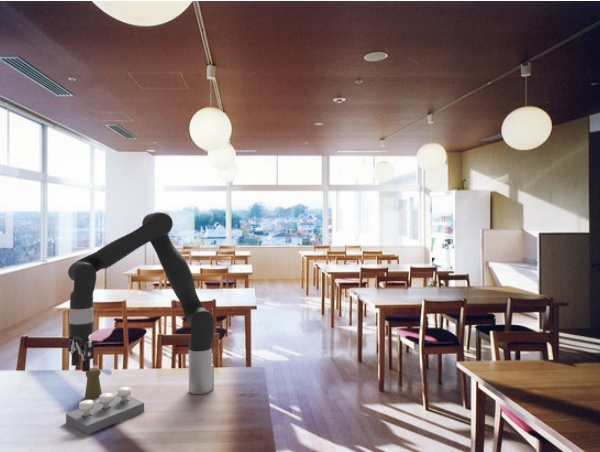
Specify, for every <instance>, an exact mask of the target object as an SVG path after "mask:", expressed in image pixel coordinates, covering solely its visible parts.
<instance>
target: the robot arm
mask: <svg viewBox="0 0 600 452" xmlns="http://www.w3.org/2000/svg"><path fill="white" fill-rule="evenodd" d="M141 224H142V225H141V226H139V227H138V228H137V229H135V230H133V231H131V232H128V233H127V234H125V235H123V236H121V237H119V238H117V239H115V240H113V241H111V242H110V243H108V244H106V245H104V246H103V247H101V248H99V249H98V250H97V251H95V252H93V253H91V254H89V255H87V256H84V257H82V258H80V259H78V260H76V261H75V262H73V263H72V264H71V265H70V266H69V268H68V271H67V275H68V277H69V278H70V280H72V281H73V290H72V291H71V292H70V297H69V313H68V345H67V346H68V350H67V351H68V352H69V353H70V355H71V366H73V367H75V366H79V364H80V356H81V359H82V361H81V362H82V364H81V365H82V366H81V367H82V368H81V369H82V372H84V373H86V371H89V370H90V368H91V360H92V359H94V357H95V354H94V353H95V349H94V348H95V345H94V342H95V341H94V340H90V338H89V337H90V336H91V335H92V334H94V323H95V322H94V319H95V317H94V315H95V314H94V313H95V312H94V291H95V287H96V282H97V272H99V271H101V270H105V269H108V268H111V267H113V265H115V264H117V263H118V262H120V261H121V260H123V259H124V258H125V257H127V256H129V255H130V254H131V253H133V252H134V251H136V250H137V249H139V248H141V247H143V246H145V245H146V244H147V243H150V244H151V246H152V247H153V249H154V252H155V253H156V256H157V258H158V261H159V263H160V265H161V267H162V269H163V271H164V274H165V277H166V278H167V281H168V283H169V285H170V286H171V288H172V291H173V292H174V295H175V296H176V298H177V299H178V301H179V303H180V306H181V308H182V311H183V315H184V317H185V320H186V323H187V325H188V327H189V328H190V340H189V341H188V392H189V394H193V395H204V394H208V393H210V392H211V391H212V390H213V389H214V388H215V365H214V364H213V342H214V335H215V334H214V333H215V332H214V331H215V322H214V317H213V314H212V313H211V312H210V311H209V310H207V309H206V308H205V306H204V305H203V303H202V302H201V300H200V299H199V296H198V294H197V290H196V286H195V280H194V275H193V273H192V271H191V269H190V266H189V265H188V262H187V261H186V259H185V258H184V256H183V255H182V254H181V253H180V251H179V250H178V249H177V248H176V246H175V245H174V244H173V241H172V240H171V239H170V236H169V233H170V232H171V231H172V228H173V226H174V221H173V218H172V217H171V216H170V215H169V214H168V213H166V212H162V211H157V212H152V213H148V214H147V215H145V216H144V217H143V219H142V223H141Z"/></svg>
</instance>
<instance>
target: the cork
mask: <svg viewBox="0 0 600 452" xmlns="http://www.w3.org/2000/svg"><path fill="white" fill-rule="evenodd" d="M100 375H101V369H100V368H99V367H90V370H89V371H86V372H85V378H86V386H85V392H84V393H85V394H84V399H85V400H97V399H99V396H100V395H101V394H103V393H102V387H101V380H100Z"/></svg>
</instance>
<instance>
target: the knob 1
mask: <svg viewBox="0 0 600 452" xmlns="http://www.w3.org/2000/svg"><path fill="white" fill-rule="evenodd" d="M93 407H94V399H92V400H88V399H85V400H82V401H80V402H79V403H78V409H79V410H80V411H83V418H86V417H89V416H90V410H91V409H93Z"/></svg>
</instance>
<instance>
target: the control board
mask: <svg viewBox="0 0 600 452" xmlns="http://www.w3.org/2000/svg"><path fill="white" fill-rule="evenodd" d="M93 404H94V407H93V409H91V410H90V416H89V417H86V418H83V411H80V410H79V408H78V409H75V410H72V411H70V412H67V413H65V424H68V425H70V426H71V427H73V428H75V429H77V430H78V431H80V432H82V433H83V434H84V435H87V436H88V435H90V434H92V433H93V434H94V433H95V432H97V431H99V430H102V429H104V428H107V427H109V426H111V425H113V424H117V423H119V422H121V421H123V420H124V421H125V420H126V419H128V418H130V417H133V416H136V415H138V414H141V413H143V412H145V402H143V401H141V400H138V399H136V398H134V397H132V396H130V395H129V396H127V402H125V403H121V397H119V396H118V394H117V395H113V401H112V402H110V403H109V409H107V410H103V404H100V403H99V401H97V402H93Z"/></svg>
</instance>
